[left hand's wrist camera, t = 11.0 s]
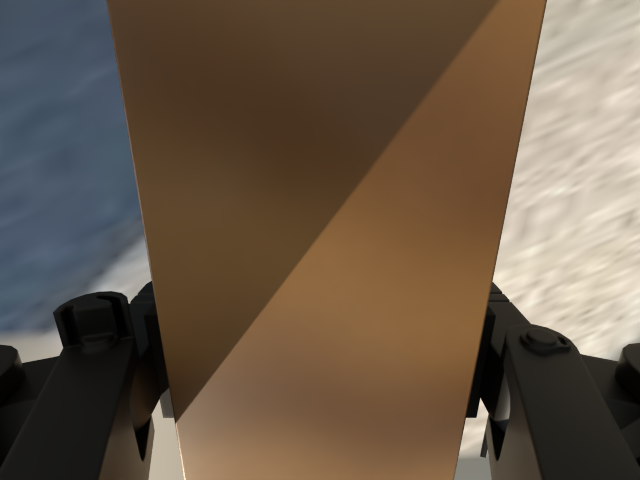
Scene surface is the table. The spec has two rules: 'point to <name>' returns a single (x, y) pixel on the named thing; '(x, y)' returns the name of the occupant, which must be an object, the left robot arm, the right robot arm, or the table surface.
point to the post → (323, 220)
